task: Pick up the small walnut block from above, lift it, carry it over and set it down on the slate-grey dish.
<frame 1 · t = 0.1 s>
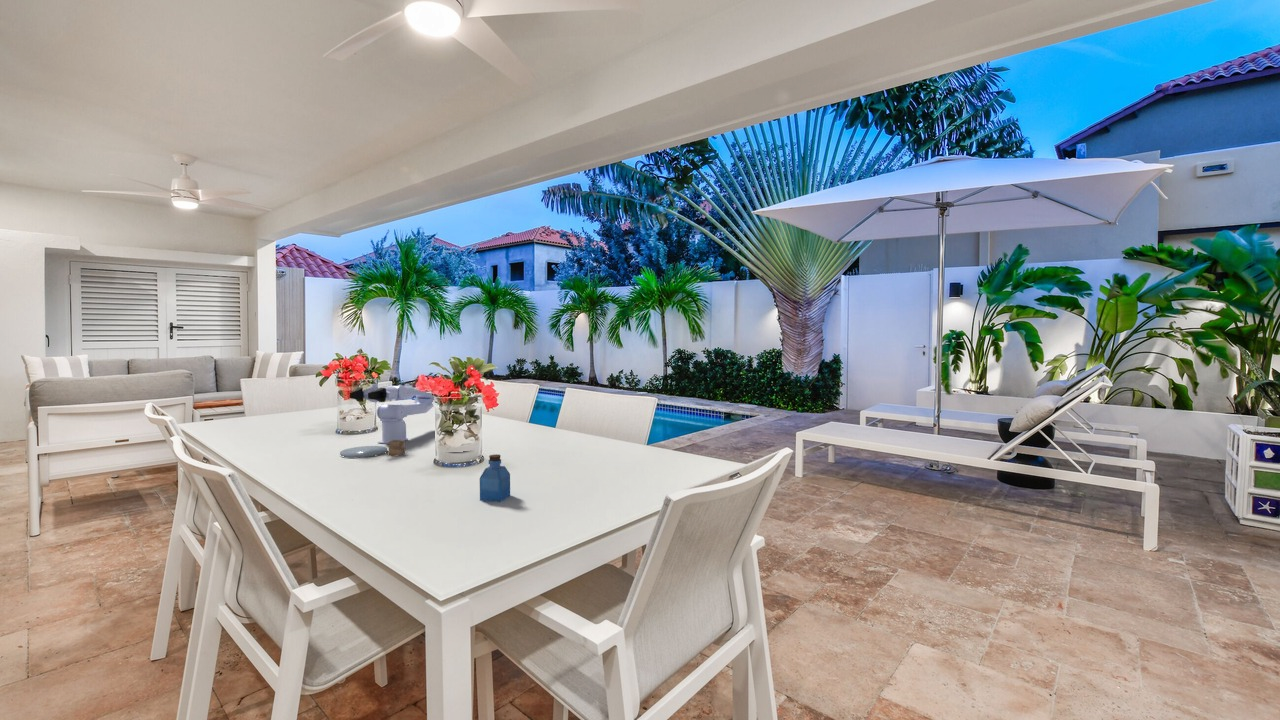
hand: (359, 395, 211), 22 cm above the table, tool horizontal, fingers open, 7 cm apart
perfume bottle: (495, 498, 157), on the table
walnut block: (396, 454, 209), on the table
slate dish: (364, 453, 211), on the table
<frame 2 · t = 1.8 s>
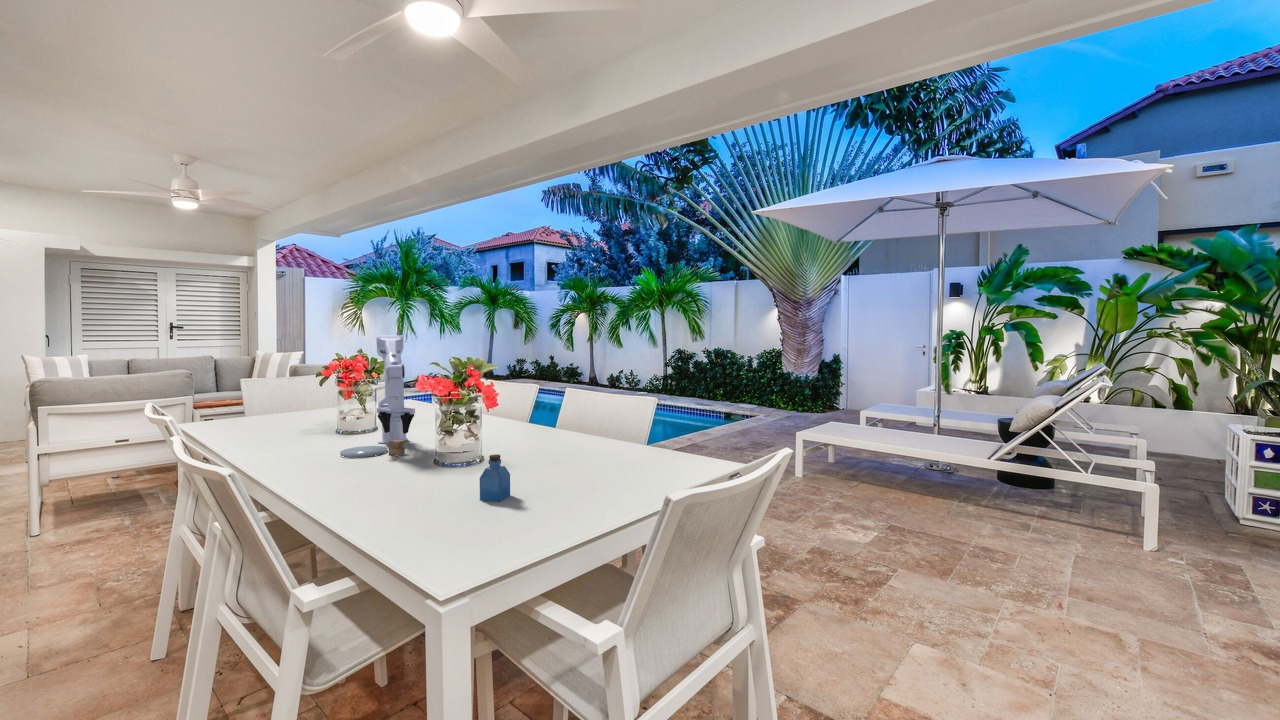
hand: (396, 432, 209), 8 cm above the table, tool pointing down, fingers open, 7 cm apart
nothing on the table moved.
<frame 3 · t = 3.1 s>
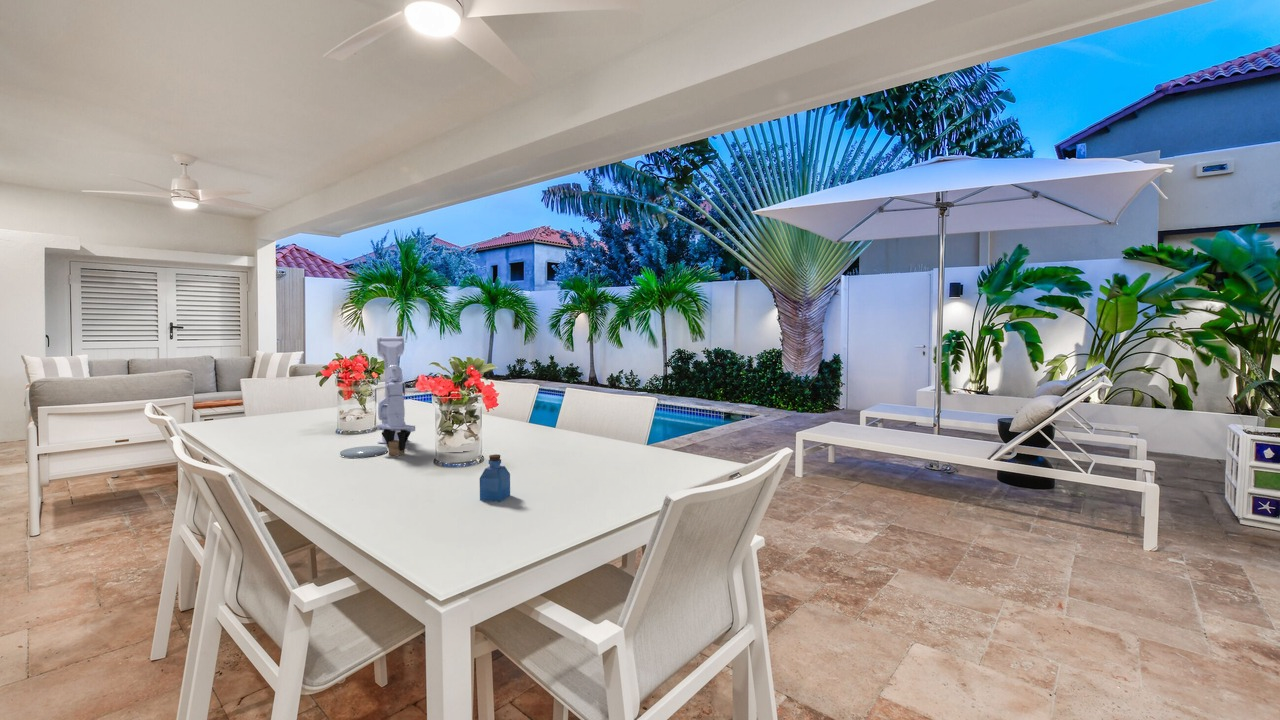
hand: (396, 449, 209), 2 cm above the table, tool pointing down, fingers closed on walnut block, 4 cm apart
walnut block: (396, 454, 209), on the table, touching gripper
everything else where it was.
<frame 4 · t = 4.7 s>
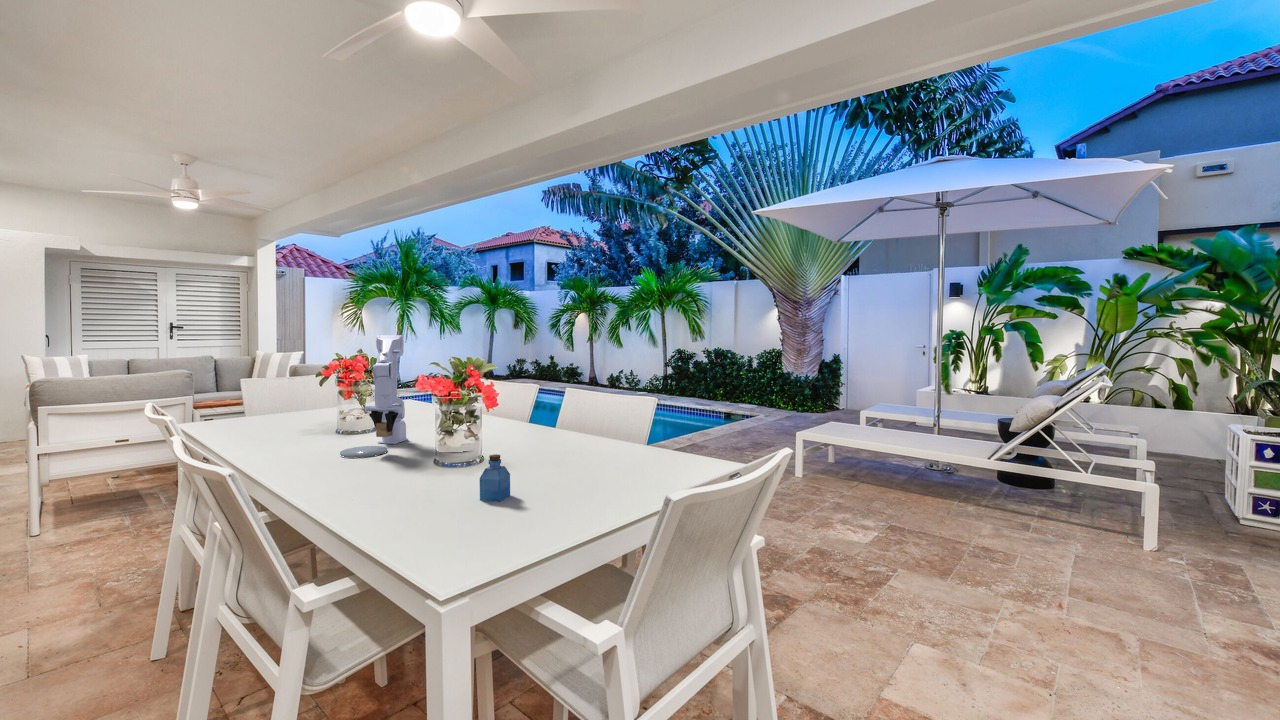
hand: (384, 431, 209), 9 cm above the table, tool pointing down, fingers closed on walnut block, 4 cm apart
walnut block: (384, 435, 209), point 7 cm above the table, touching gripper
everything else where it was.
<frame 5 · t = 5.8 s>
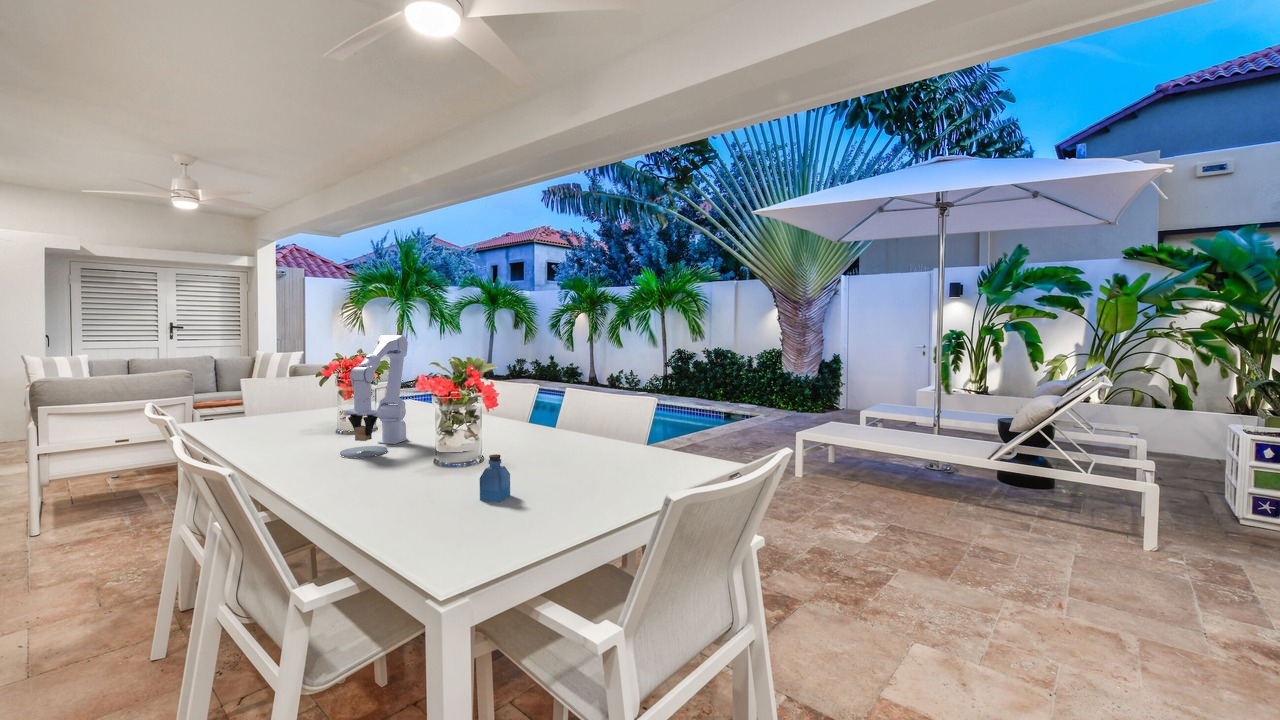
hand: (363, 434, 210), 7 cm above the table, tool pointing down, fingers closed on walnut block, 4 cm apart
walnut block: (363, 439, 210), point 5 cm above the table, touching gripper
everything else where it was.
when the fingers open (4 cm above the table, at t = 6.8 s): walnut block drops 1 cm, resting on slate dish.
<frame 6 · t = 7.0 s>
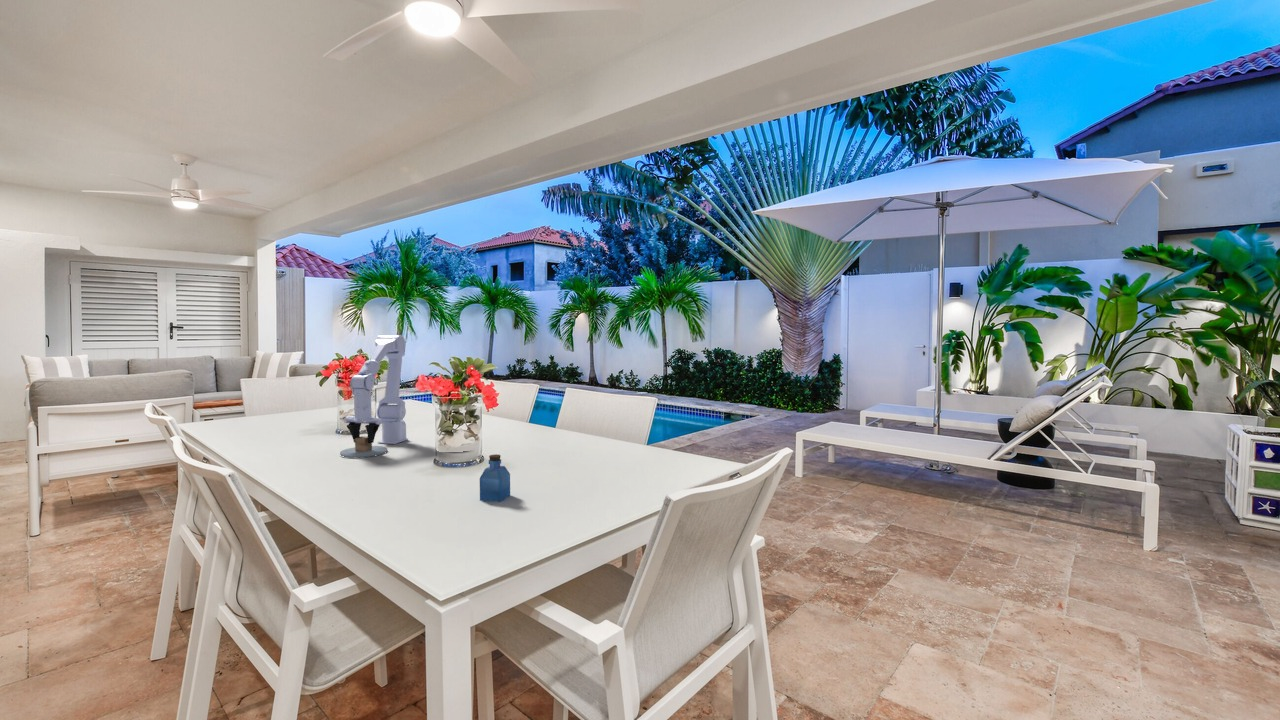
hand: (363, 442, 211), 4 cm above the table, tool pointing down, fingers open, 5 cm apart
walnut block: (363, 450, 211), point 1 cm above the table, touching slate dish
everything else where it was.
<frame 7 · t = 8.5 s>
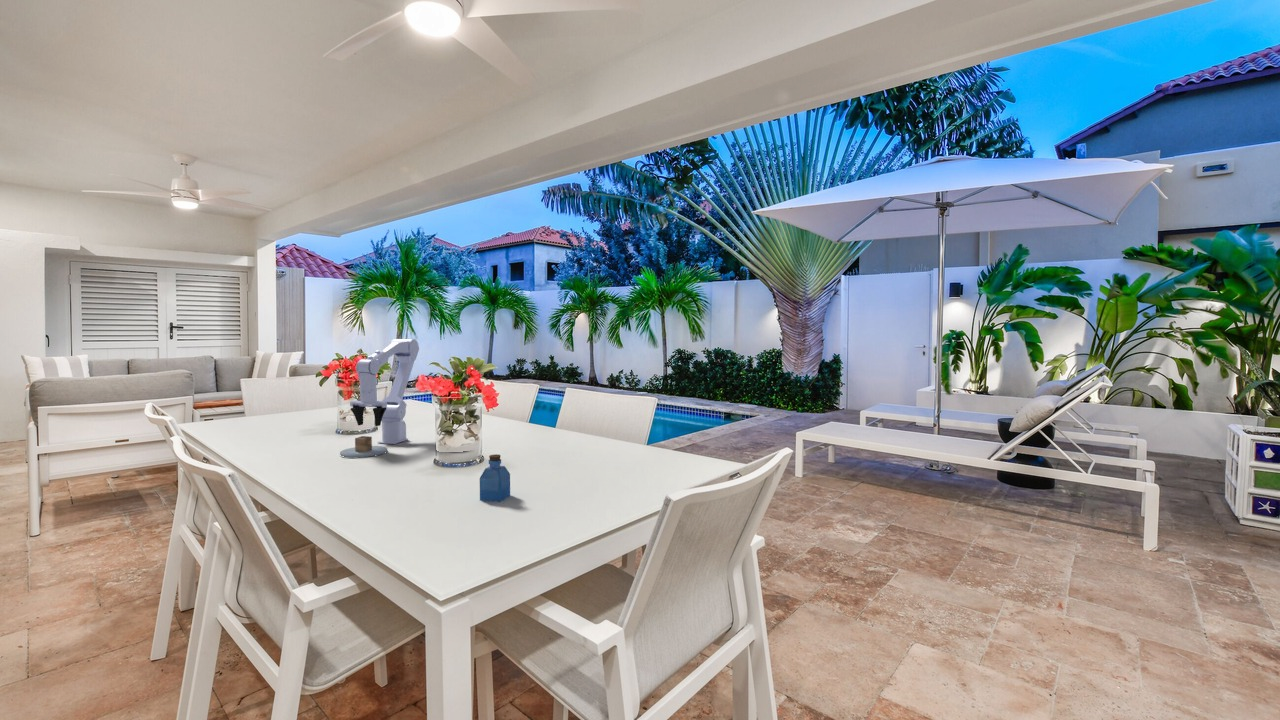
hand: (369, 425, 216), 9 cm above the table, tool pointing down, fingers open, 7 cm apart
nothing on the table moved.
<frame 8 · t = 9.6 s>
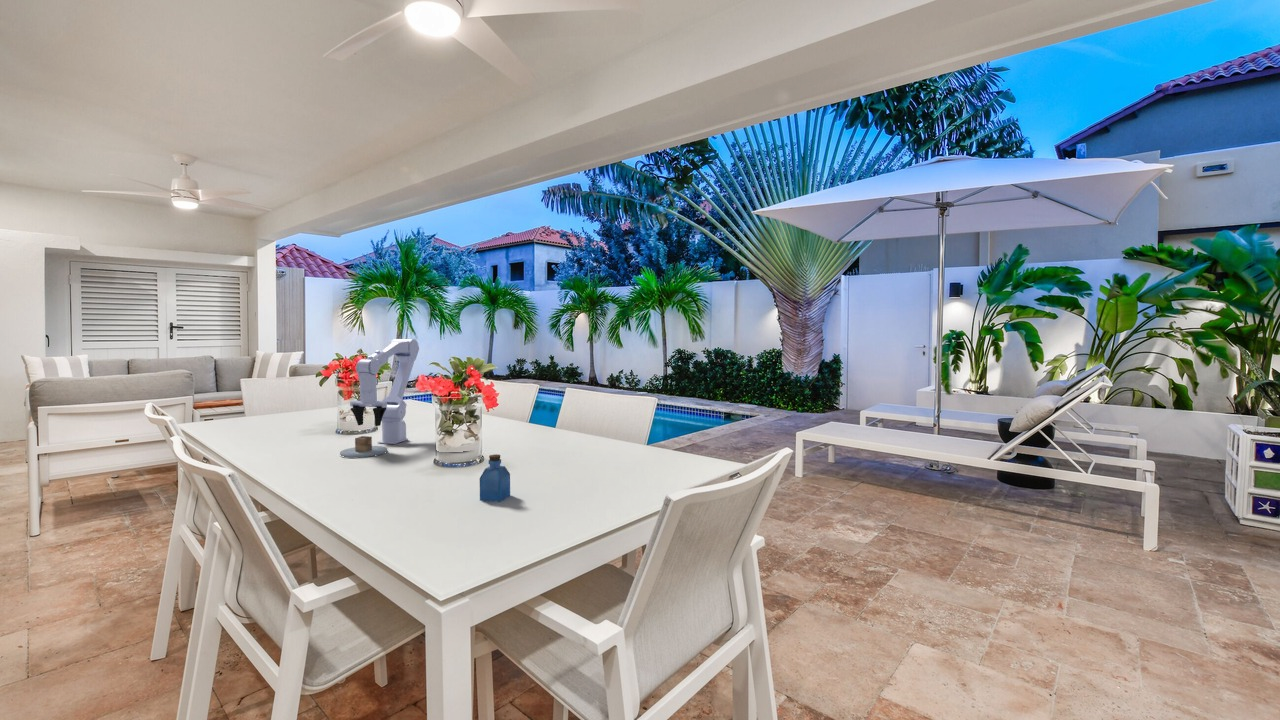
hand: (369, 425, 216), 9 cm above the table, tool pointing down, fingers open, 7 cm apart
nothing on the table moved.
at the end: walnut block inside the target area on the slate dish (0.1 cm from its centre), point 1.0 cm above the slate dish's base; walnut block tilted 0°; the gripper is holding nothing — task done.
